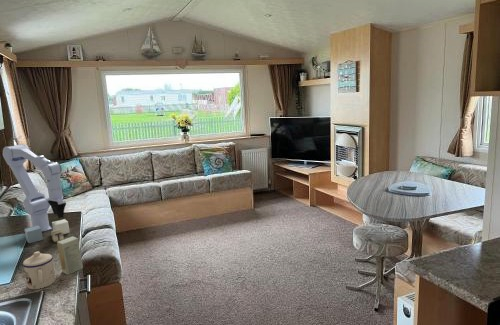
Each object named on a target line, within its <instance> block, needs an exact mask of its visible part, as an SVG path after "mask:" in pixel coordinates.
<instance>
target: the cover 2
mask: <svg viewBox="0 0 500 325" xmlns="http://www.w3.org/2000/svg"><path fill="white" fill-rule="evenodd" d="M51 226H52V231H55V230H59V229H61V230H62V231H63V235H66V234H70V232H71V231H70V227H69V221H68V220H66V218H64V219H60V220H55V221H52V222H51Z"/></svg>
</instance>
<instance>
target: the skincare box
mask: <svg viewBox="0 0 500 325" xmlns="http://www.w3.org/2000/svg"><path fill="white" fill-rule="evenodd" d="M56 246H57V249H58V256H59V262H60V267H61V272H62V273H63V274H65V275H71V274H73V273H75V272H77V271H78V272H79V270H82V269H83V268H84V266H83V259H82V254H81V248H80V242H79V238H78V237H75V236H74V235H73V236H70V237H67V238H64V239H63V240H60V241H56Z"/></svg>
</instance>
